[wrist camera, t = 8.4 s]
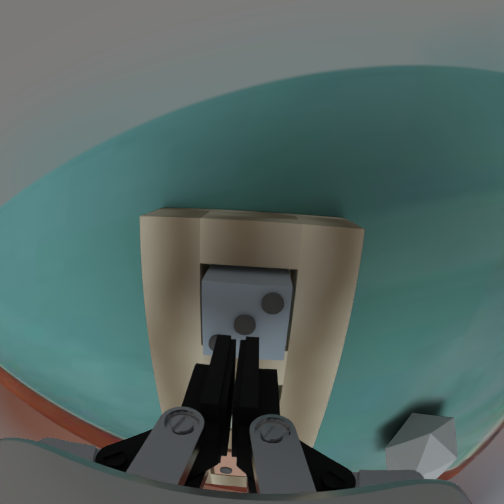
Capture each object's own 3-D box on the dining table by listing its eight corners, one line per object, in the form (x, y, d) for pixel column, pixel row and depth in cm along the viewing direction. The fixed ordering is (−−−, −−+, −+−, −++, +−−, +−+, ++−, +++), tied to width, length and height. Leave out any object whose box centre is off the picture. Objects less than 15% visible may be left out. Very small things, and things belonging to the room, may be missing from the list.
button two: (265, 429, 22) (265, 456, 19) (262, 454, 23) (261, 478, 20) (217, 425, 22) (212, 452, 19) (218, 450, 23) (214, 475, 20)
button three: (287, 267, 17) (293, 288, 13) (280, 332, 18) (283, 362, 15) (211, 262, 17) (200, 282, 14) (211, 328, 18) (202, 356, 15)
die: (361, 431, 24) (376, 503, 18) (421, 411, 19) (439, 498, 13) (405, 413, 27) (419, 476, 22) (459, 389, 22) (476, 462, 16)
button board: (344, 218, 18) (364, 229, 14) (294, 459, 25) (296, 487, 21) (163, 207, 18) (139, 216, 15) (186, 451, 25) (179, 478, 21)
